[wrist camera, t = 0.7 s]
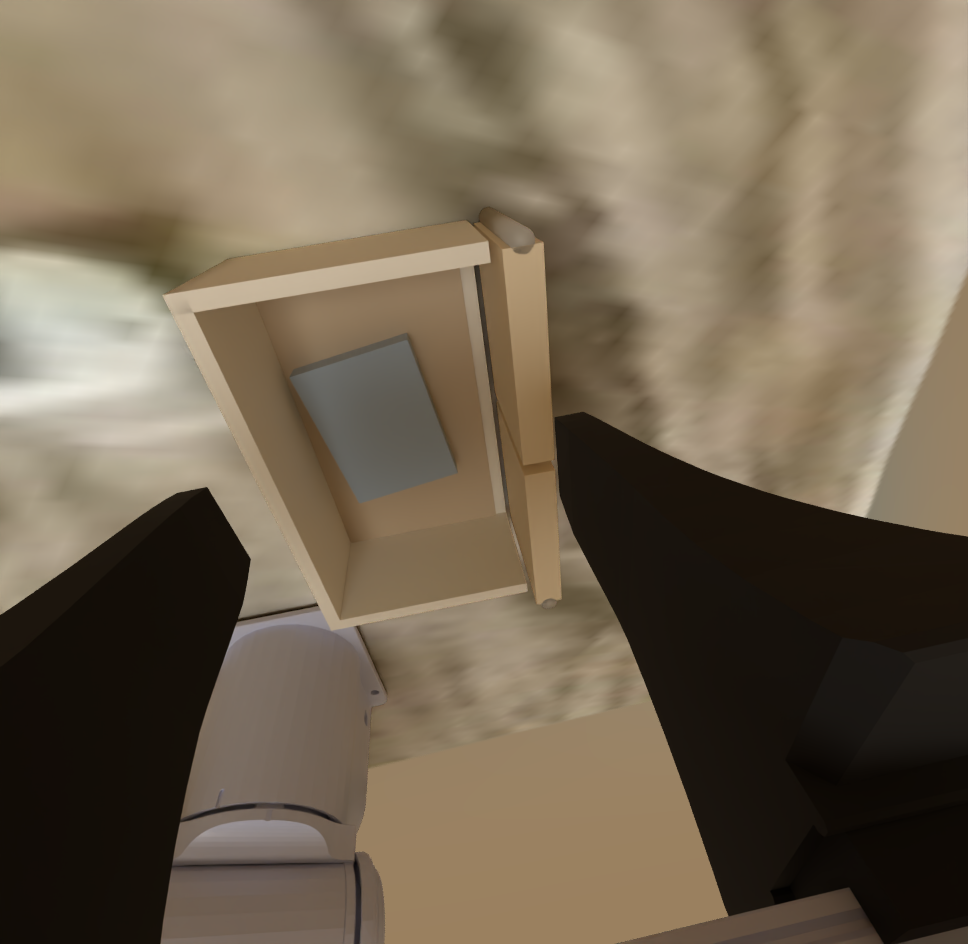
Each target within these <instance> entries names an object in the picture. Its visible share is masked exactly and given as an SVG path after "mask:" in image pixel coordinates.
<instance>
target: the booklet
mask: <svg viewBox="0 0 968 944" xmlns="http://www.w3.org/2000/svg"><path fill="white" fill-rule="evenodd" d="M289 378H290V380H291V382H292V384H293V385H294V387H295V389H296V391H297V393H298V394H299V396H300V398H301V400H302V401H303V403H304V405H305V407H306V409H307V410H308V412H309V414H310V416H311V418H312V419H313V421H314V423H315V425H316V427H317V428H318V430H319V432H320V434H321V436H322V437H323V439H324V441H325V443H326V444H327V446H328V448H329V450H330V452H331V453H332V455H333V457H334V459H335V461H336V462H337V464H338V466H339V468H340V470H341V471H342V473H343V475H344V477H345V479H346V480H347V482H348V484H349V486H350V488H351V489H352V491H353V493H354V495H355V496H356V498H357V500H358V502H359V504H360V503H363V502H366V501H370V500H373V499H376V498H379V497H382V496H386V495H389V494H392V493H395V492H399V491H402V490H405V489H408V488H411V487H415V486H418V485H421V484H424V483H428V482H431V481H434V480H437V479H440V478H444V477H447V476H450V475H453V474H457V473H458V471H457V465H456V461H455V459H454V456H453V453H452V451H451V448H450V445H449V443H448V440H447V437H446V435H445V432H444V429H443V427H442V424H441V421H440V419H439V416H438V413H437V411H436V408H435V405H434V403H433V400H432V397H431V395H430V392H429V389H428V387H427V384H426V381H425V379H424V376H423V373H422V371H421V368H420V365H419V363H418V360H417V358H416V355H415V352H414V350H413V347H412V344H411V342H410V339H409V336H408V334H407V333H404V334H401V335H398V336H395V337H392V338H389V339H386V340H383V341H380V342H376V343H373V344H370V345H367V346H364V347H361V348H358V349H355V350H352V351H349V352H345V353H342V354H339V355H336V356H333V357H330V358H327V359H324V360H321V361H318V362H315V363H311V364H308V365H305V366H302V367H299V368H296V369H293V371H292V373H291V375H290V377H289Z"/></svg>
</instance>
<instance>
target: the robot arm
mask: <svg viewBox="0 0 968 944" xmlns="http://www.w3.org/2000/svg"><path fill="white" fill-rule="evenodd" d="M555 432H556V447H557V462H558V477H559V491H560V497H561V500H562V503H563V506H564V509H565V512H566V515H567V517H568V520H569V523H570V525H571V528H572V531H573V533H574V535H575V537H576V539H577V541H578V543H579V545H580V547H581V549H582V551H583V553H584V555H585V557H586V559H587V561H588V563H589V565H590V567H591V568H592V570H593V572H594V574H595V576H596V578H597V580H598V582H599V584H600V586H601V587H602V589H603V591H604V593H605V595H606V597H607V599H608V601H609V603H610V605H611V607H612V608H613V610H614V612H615V614H616V616H617V618H618V620H619V622H620V624H621V626H622V629H623V631H624V633H625V635H626V637H627V639H628V642H629V644H630V647H631V649H632V652H633V654H634V657H635V659H636V662H637V664H638V667H639V669H640V672H641V674H642V677H643V679H644V682H645V684H646V687H647V689H648V692H649V695H650V697H651V700H652V703H653V705H654V708H655V710H656V713H657V715H658V718H659V721H660V723H661V726H662V729H663V731H664V734H665V736H666V739H667V742H668V745H669V747H670V750H671V753H672V756H673V758H674V761H675V764H676V767H677V770H678V772H679V775H680V778H681V781H682V783H683V786H684V789H685V791H686V794H687V797H688V800H689V802H690V806H691V809H692V812H693V814H694V817H695V820H696V823H697V826H698V829H699V832H700V835H701V838H702V841H703V844H704V846H705V849H706V852H707V855H708V858H709V861H710V864H711V867H712V870H713V872H714V876H715V879H716V882H717V885H718V888H719V891H720V894H721V897H722V900H723V903H724V906H725V908H726V911H727V913H728V917H724V918H720V919H716V920H712V921H708V922H704V923H699V924H695V925H691V926H687V927H683V928H679V929H675V930H671V931H667V932H662V933H659V934H654V935H650V936H646V937H642V938H637V939H633V940H629V941H625V942H621V943H617V944H968V537H966V536H960V535H954V534H946V533H941V532H935V531H929V530H923V529H919V528H914V527H909V526H904V525H898V524H893V523H888V522H883V521H878V520H873V519H868V518H864V517H859V516H855V515H851V514H846V513H842V512H837V511H833V510H829V509H825V508H822V507H818V506H814V505H810V504H807V503H803V502H799V501H795V500H791V499H788V498H784V497H781V496H777V495H774V494H771V493H767V492H764V491H761V490H758V489H755V488H752V487H749V486H746V485H743V484H740V483H737V482H735V481H732V480H729V479H726V478H723V477H720V476H718V475H715V474H712V473H710V472H707V471H705V470H702V469H700V468H698V467H695V466H693V465H691V464H688V463H686V462H684V461H681V460H679V459H677V458H674V457H672V456H670V455H668V454H666V453H664V452H661V451H659V450H657V449H655V448H653V447H651V446H649V445H647V444H645V443H643V442H641V441H639V440H637V439H635V438H633V437H631V436H629V435H627V434H626V433H624V432H622V431H620V430H618V429H616V428H614V427H612V426H611V425H609V424H607V423H605V422H603V421H601V420H599V419H597V418H595V417H593V416H591V415H589V414H587V413H585V412H580V413H575V414H570V415H565V416H560V417H555ZM250 560H251V559H250V557H249V556H248V554H247V552H246V551H245V549H244V547H243V546H242V544H241V542H240V541H239V539H238V537H237V536H236V534H235V532H234V531H233V529H232V527H231V526H230V524H229V522H228V521H227V519H226V517H225V516H224V514H223V512H222V511H221V509H220V508H219V506H218V504H217V503H216V501H215V499H214V498H213V496H212V494H211V493H210V491H209V489H208V488H207V487H205V488H200V489H195V490H190V491H185V492H180V493H176V494H175V495H173V496H171V497H169V498H167V499H166V500H164V501H162V502H161V503H159V504H158V505H156V506H155V507H153V508H152V509H150V510H149V511H147V512H146V513H144V514H143V515H141V516H140V517H139V518H137V519H136V520H134V521H133V522H132V523H130V524H129V525H127V526H126V527H125V528H123V529H122V530H121V531H119V532H118V533H116V534H115V535H114V536H112V537H111V538H110V539H108V540H107V541H105V542H104V543H103V544H101V545H100V546H99V547H97V548H96V549H94V550H93V551H92V552H90V553H89V554H88V555H86V556H85V557H83V558H82V559H81V560H79V561H78V562H77V563H75V564H74V565H72V566H71V567H70V568H68V569H67V570H65V571H64V572H62V573H61V574H59V575H58V576H57V577H55V578H54V579H52V580H51V581H49V582H48V583H46V584H45V585H44V586H42V587H41V588H39V589H38V590H36V591H35V592H34V593H32V594H31V595H29V596H28V597H26V598H25V599H23V600H22V601H21V602H19V603H18V604H16V605H15V606H13V607H12V608H10V609H9V610H7V611H6V612H4V613H3V614H1V615H0V944H384V934H385V915H384V914H385V912H384V896H383V888H382V882H381V879H380V876H379V873H378V871H377V870H376V869H375V867H374V865H373V862H372V860H371V858H370V856H369V855H368V854H367V853H365V852H355V845H356V834H357V832H358V830H359V827H360V824H361V821H362V819H363V815H364V811H365V805H366V791H367V774H368V759H369V742H370V726H371V709H372V707H375V706H379V705H383V704H385V703H386V702H387V693H386V691H385V689H384V687H383V684H382V682H381V680H380V678H379V675H378V673H377V671H376V669H375V667H374V664H373V662H372V660H371V658H370V655H369V653H368V651H367V649H366V647H365V644H364V642H363V640H362V638H361V635H360V633H359V631H358V629H357V627H356V626H353V627H348V628H343V629H338V630H333V631H331V629H330V627H329V625H328V623H327V621H326V619H325V617H324V615H323V613H322V611H321V609H320V607H319V606H316V607H311V608H306V609H301V610H296V611H291V612H286V613H281V614H276V615H271V616H266V617H260V618H255V619H250V620H245V621H240V622H237V620H238V617H239V614H240V611H241V608H242V605H243V601H244V596H245V591H246V586H247V580H248V573H249V567H250Z"/></svg>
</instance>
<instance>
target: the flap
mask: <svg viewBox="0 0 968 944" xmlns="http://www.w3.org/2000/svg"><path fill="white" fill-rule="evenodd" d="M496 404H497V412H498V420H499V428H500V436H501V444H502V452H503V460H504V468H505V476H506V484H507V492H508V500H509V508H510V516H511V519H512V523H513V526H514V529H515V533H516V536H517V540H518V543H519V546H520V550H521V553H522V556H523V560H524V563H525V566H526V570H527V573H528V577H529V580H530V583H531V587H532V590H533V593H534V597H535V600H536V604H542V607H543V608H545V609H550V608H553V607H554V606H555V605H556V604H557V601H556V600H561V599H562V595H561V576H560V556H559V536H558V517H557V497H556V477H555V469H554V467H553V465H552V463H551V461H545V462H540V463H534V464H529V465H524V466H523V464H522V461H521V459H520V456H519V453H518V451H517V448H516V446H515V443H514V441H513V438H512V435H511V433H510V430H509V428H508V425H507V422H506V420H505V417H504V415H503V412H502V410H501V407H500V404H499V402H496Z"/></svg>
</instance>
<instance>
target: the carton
mask: <svg viewBox="0 0 968 944" xmlns="http://www.w3.org/2000/svg"><path fill="white" fill-rule="evenodd" d="M486 263H491V261H490V252H489V243H488V240H487V239H486V238H485V237H483V236H482V235H481V234H480V233H479V232H478V231H477V230H476V229H475V228H474V227H473V226H472V225H471V224H470V223H469V222H468V221H467V220H463V221H457V222H451V223H445V224H439V225H432V226H426V227H420V228H414V229H408V230H402V231H396V232H390V233H384V234H377V235H371V236H365V237H359V238H353V239H347V240H341V241H335V242H328V243H322V244H316V245H310V246H304V247H298V248H292V249H286V250H280V251H273V252H267V253H261V254H255V255H249V256H243V257H237V258H231V259H227V260H225V261H223V262H221V263H219V264H218V265H216V266H214V267H212V268H210V269H209V270H207V271H205V272H203V273H201V274H200V275H198V276H196V277H194V278H192V279H191V280H189V281H187V282H185V283H183V284H182V285H180V286H178V287H176V288H174V289H173V290H171V291H169V292H167V293H165V294H164V295H163V297H164V299H165V301H166V303H167V305H168V307H169V309H170V311H171V313H172V315H173V317H174V319H175V321H176V323H177V325H178V327H179V329H180V331H181V333H182V335H183V337H184V339H185V341H186V343H187V345H188V347H189V349H190V351H191V353H192V355H193V357H194V359H195V361H196V363H197V365H198V367H199V369H200V371H201V373H202V375H203V377H204V379H205V381H206V383H207V385H208V387H209V389H210V391H211V393H212V395H213V397H214V399H215V401H216V403H217V405H218V407H219V409H220V411H221V413H222V415H223V417H224V419H225V421H226V423H227V425H228V427H229V429H230V431H231V433H232V435H233V437H234V439H235V441H236V443H237V444H238V446H239V448H240V450H241V452H242V454H243V456H244V458H245V460H246V462H247V464H248V466H249V468H250V470H251V472H252V474H253V476H254V478H255V480H256V482H257V484H258V486H259V488H260V490H261V492H262V494H263V496H264V498H265V500H266V502H267V504H268V506H269V508H270V510H271V512H272V514H273V516H274V518H275V520H276V522H277V524H278V526H279V528H280V530H281V532H282V534H283V536H284V538H285V540H286V542H287V544H288V546H289V548H290V550H291V552H292V554H293V556H294V558H295V560H296V562H297V564H298V566H299V568H300V570H301V572H302V574H303V576H304V578H305V580H306V582H307V584H308V586H309V588H310V590H311V592H312V594H313V596H314V598H315V599H316V601H317V603H318V605H319V607H320V609H321V611H322V613H323V615H324V617H325V619H326V621H327V623H328V625H329V627H330V629H331V631H333V630H338V629H343V628H348V627H353V626H358V625H363V624H368V623H373V622H378V621H383V620H388V619H393V618H398V617H403V616H408V615H413V614H418V613H423V612H428V611H433V610H438V609H443V608H448V607H453V606H458V605H463V604H468V603H473V602H478V601H483V600H488V599H493V598H498V597H503V596H508V595H513V594H518V593H523V592H528V591H527V583H526V579H525V576H524V572H523V569H522V566H521V562H520V559H519V555H518V552H517V548H516V545H515V541H514V538H513V534H512V531H511V527H510V524H509V520H508V517H507V513H506V508H505V500H504V492H503V485H502V477H501V470H500V462H499V455H498V447H497V439H496V432H495V424H494V417H493V409H492V401H491V394H490V386H489V379H488V371H487V364H486V356H485V348H484V341H483V333H482V326H481V318H480V310H479V303H478V295H477V288H476V280H475V273H474V265H480V264H486ZM404 333H407V334H408V336H409V339H410V342H411V344H412V347H413V350H414V352H415V355H416V358H417V360H418V363H419V365H420V368H421V371H422V373H423V376H424V379H425V381H426V384H427V387H428V389H429V392H430V395H431V397H432V400H433V403H434V405H435V408H436V411H437V413H438V416H439V419H440V421H441V424H442V427H443V429H444V432H445V435H446V437H447V440H448V443H449V445H450V448H451V451H452V453H453V456H454V459H455V461H456V465H457V471H458V473H457V474H453V475H450V476H447V477H444V478H440V479H437V480H434V481H431V482H428V483H424V484H421V485H418V486H415V487H411V488H408V489H405V490H402V491H399V492H395V493H392V494H389V495H386V496H382V497H379V498H376V499H373V500H370V501H366V502H363V503H360V504H359V502H358V500H357V498H356V496H355V495H354V493H353V491H352V489H351V488H350V486H349V484H348V482H347V480H346V479H345V477H344V475H343V473H342V471H341V470H340V468H339V466H338V464H337V462H336V461H335V459H334V457H333V455H332V453H331V452H330V450H329V448H328V446H327V444H326V443H325V441H324V439H323V437H322V436H321V434H320V432H319V430H318V428H317V427H316V425H315V423H314V421H313V419H312V418H311V416H310V414H309V412H308V410H307V409H306V407H305V405H304V403H303V401H302V400H301V398H300V396H299V394H298V393H297V391H296V389H295V387H294V385H293V384H292V382H291V380H290V378H289V377H290V375H291V373H292V371H293V369H296V368H299V367H302V366H305V365H308V364H311V363H315V362H318V361H321V360H324V359H327V358H330V357H333V356H336V355H339V354H342V353H345V352H349V351H352V350H355V349H358V348H361V347H364V346H367V345H370V344H373V343H376V342H380V341H383V340H386V339H389V338H392V337H395V336H398V335H401V334H404Z"/></svg>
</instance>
